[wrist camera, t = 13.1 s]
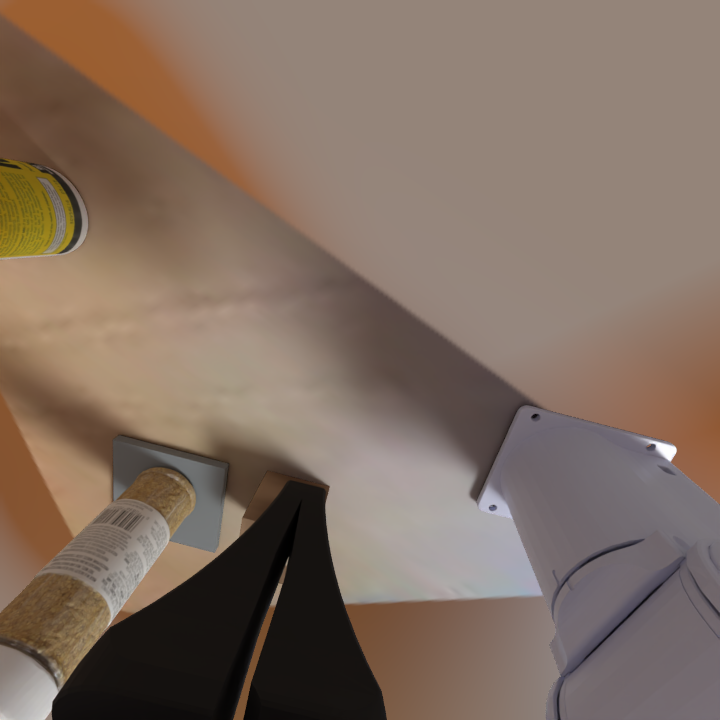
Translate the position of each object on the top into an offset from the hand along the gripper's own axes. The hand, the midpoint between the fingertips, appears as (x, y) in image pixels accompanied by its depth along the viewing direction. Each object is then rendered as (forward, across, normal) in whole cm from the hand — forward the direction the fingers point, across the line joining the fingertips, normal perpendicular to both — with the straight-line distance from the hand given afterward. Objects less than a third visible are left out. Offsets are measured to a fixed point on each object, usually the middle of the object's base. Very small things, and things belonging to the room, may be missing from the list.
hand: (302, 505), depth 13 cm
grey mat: (+11, +10, +12) cm, 19 cm away
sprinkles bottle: (+10, +10, +11) cm, 18 cm away
